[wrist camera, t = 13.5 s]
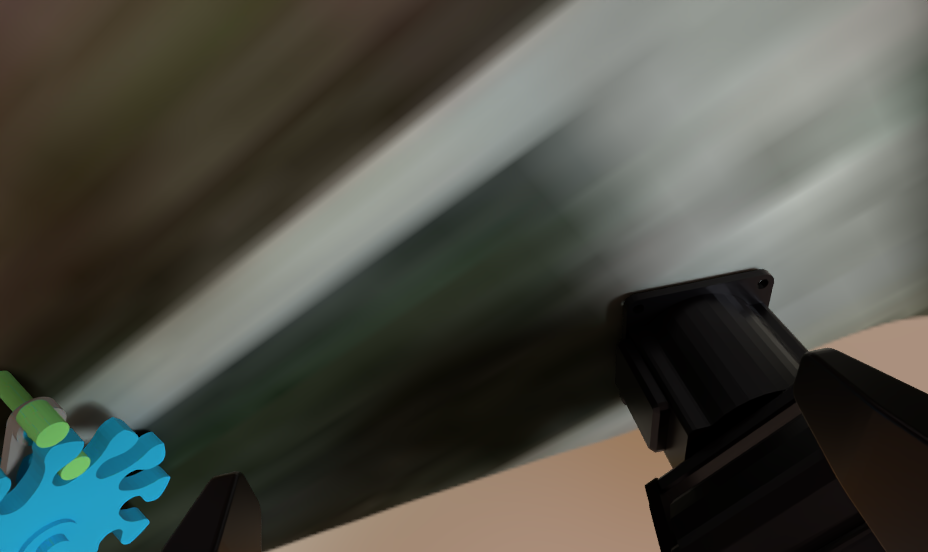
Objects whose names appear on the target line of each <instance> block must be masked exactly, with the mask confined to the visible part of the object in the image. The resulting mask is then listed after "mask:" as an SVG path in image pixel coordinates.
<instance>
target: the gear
mask: <svg viewBox="0 0 928 552" xmlns="http://www.w3.org/2000/svg"><path fill="white" fill-rule="evenodd" d="M0 398H1V399H2V400H3V401H4V402H5V404H6V405H7V406H8V407H9V408H10V409H11V410H12V413H11V415H10V416H9V418H8V420H7V425H6V431H5V438H4V445H3V452H2V458H1V457H0V552H97V551H98V546H99V543H100V542H101V540H102V539H103V538H104V537H105V536H106V535H107V534H109V533H110V532H112V533H113V534H114V535H115V536H116V537H117V538H118V540H119V541H120V542H121V543H122V544H129V543H131V542H132V541H133V540H134V539H135V538H136V537H137V536H138V535H139V534H140V533H141V532H142V531H143V530H144V529H145V528H146V527H147V525H148V524H149V520H148V519H147V518H146V517H145V516H144V515H143V514H142V512H141V511H140V510H139V509H138V508H136V507H134V508H129V509H124V510H120V508H121V507H122V505H123V504H124V503H125V502H127V501H128V500H129V499H131V498H133V497H135V496H141V497H142V498H143V499H144V500H145V501H147V502H150V501H153V500H155V499H157V498H159V497H160V495H161V494H162V493H163V491H164V490H165V488H166V486H167V484H168V482H169V480H170V476H169V475H168V474H167V473H166V472H165V471H164V470H163V469H162V468H161V467H160V466H158V464H160V463H161V462H162V461H163V460H164V457H165V447H164V443H163V442H162V441H161V440H160V439H159V438H158V437H157V436H156V435H155V434H154V433H153V432H148V433H146V434H144V435H142V436H140V437H138V436H137V435H136V433H135V432H134V431H133V430H132V429H131V428H130V427H129V426H128V425H127V424H126V423H125V422H123V421H122V420H120V419H117V418H114V417H112V418H110V419H108V420H107V421H105V422H104V423H103V424H102V425H101V426H100V427H99V428H98V430H97V431H96V433H95V435H94V437H93V438H92V439H91V441H90V442H89V443H88V444H87V446H86V447H85V448H84V449H83V447H84V441H83V440H82V439H81V438H80V437H79V436H78V435H77V434H76V433H75V431H74V430H73V429H72V428H70V427H69V425H68V424H67V422H66V417H67V416H66V413H65V411H64V410H63V409H62V408H61V407H60V406H59V405H58V404H57V403H56V401H55V400H53V399H52V398H50V397H37V398H34V399H33V398H32V397H31V395H30V394H29V393H28V392H27V391H26V390H25V389H24V388H23V387H22V386H21V384H20V383H19V382H18V381H17V380H16V379H15V378H14V377H13V376H12V374H11V373H10V372H8V371H0ZM82 449H83V450H82ZM134 470H143V471H141V472H139V473H137V474H135V475H132V476H129V477H125V476H126V475H127V474H129V473H130V472H132V471H134ZM124 477H125V478H124Z"/></svg>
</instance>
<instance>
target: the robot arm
mask: <svg viewBox="0 0 928 552" xmlns="http://www.w3.org/2000/svg"><path fill="white" fill-rule="evenodd" d="M761 280H762V281H761ZM760 281H761V282H760ZM773 284H774V278H773V277H772V275H771V274H770V273H769V272H768V271H766V270H764V269H759V270H754V271H749V272H744V273H739V274H734V275H729V276H724V277H719V278H714V279H709V280H704V281H699V282H694V283H689V284H684V285H679V286H674V287H669V288H664V289H659V290H654V291H649V292H644V293H639V294H634V295H632V296H630V297H628V298H627V299H626V301H625V302H624V305H623V326H622V339H621V340H619V342H618V344H617V352H616V379H615V382H616V385H617V387H618V389H619V391H620V398H621V400H622V402H623V403H624V404H625V405H627V407H628V409H629V411H630V413H631V414H632V416H633V418H634V420H635V422H636V424H637V426H638V428H639V430H640V432H641V434H642V436H643V438H644V440H645V442H646V444H647V446H648V448H649V449H651V450H652V451H654V452H660V451H664V453H665V455H666V457H667V459H668V460H669V462H670V464H671V466H672V468H673V469H672V470H670V471H669V472H667V473H666V474H665V475H663V476H662V477H660V478H659V479H658V478H655V479H653V480H652V481H650V482H649V483H647V484H646V485H645V489H646V493H647V497H648V500H649V508H650V511H651V515H652V519H653V523H654V527H655V531H656V534H657V538H658V542H659V546H660V550H661V552H928V394H927V393H925V392H923V391H920V390H918V389H916V388H914V387H912V386H910V385H908V384H906V383H904V382H902V381H900V380H898V379H896V378H893V377H892V376H889V375H887V374H885V373H883V372H881V371H879V370H877V369H875V368H873V367H871V366H869V365H867V364H864V363H863V362H860V361H858V360H856V359H854V358H852V357H850V356H848V355H846V354H844V353H842V352H840V351H837V350H835V349H832V348H823V349H819V350H814V351H808V350H807V349H806V348H805V347H804V346H803V345H802V343H801V342H800V341H799V340H798V339H797V338H796V337H795V336H794V335H793V334H792V333H791V332H790V331H789V329H788V328H787V327H786V326H785V325H784V324H783V323H782V322H781V321H780V320H779V319H778V318H777V317H776V315H775V314H774V313H773V312H772V311H771V310H770V309H769V308H768V306H769V301H770V297H771V293H772V288H773ZM638 304H640V305H639V306H638V307H636V308H634V307H635V306H636V305H638ZM161 552H261V509H260V505H259V502H258V500H257V498H256V496H255V494H254V492H253V491H252V489H251V487H250V485H249V483H248V481H247V480H246V478H245V476H244V475H243V474H242V473H241V472H231V473H226V474H222V475H217V476H215V477H213V478H212V479H211V480H210V481H209V482H208V484H207V485H206V487H205V488H204V489H203V491H202V492H201V494H200V495H199V497H198V498H197V500H196V501H195V502H194V504H193V505H192V507H191V508H190V510H189V511H188V513H187V514H186V515H185V517H184V518H183V520H182V521H181V523H180V524H179V526H178V527H177V528H176V530H175V531H174V533H173V534H172V536H171V537H170V539H169V540H168V541H167V543H166V544H165V546H164V547H163V549H162V550H161Z"/></svg>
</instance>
